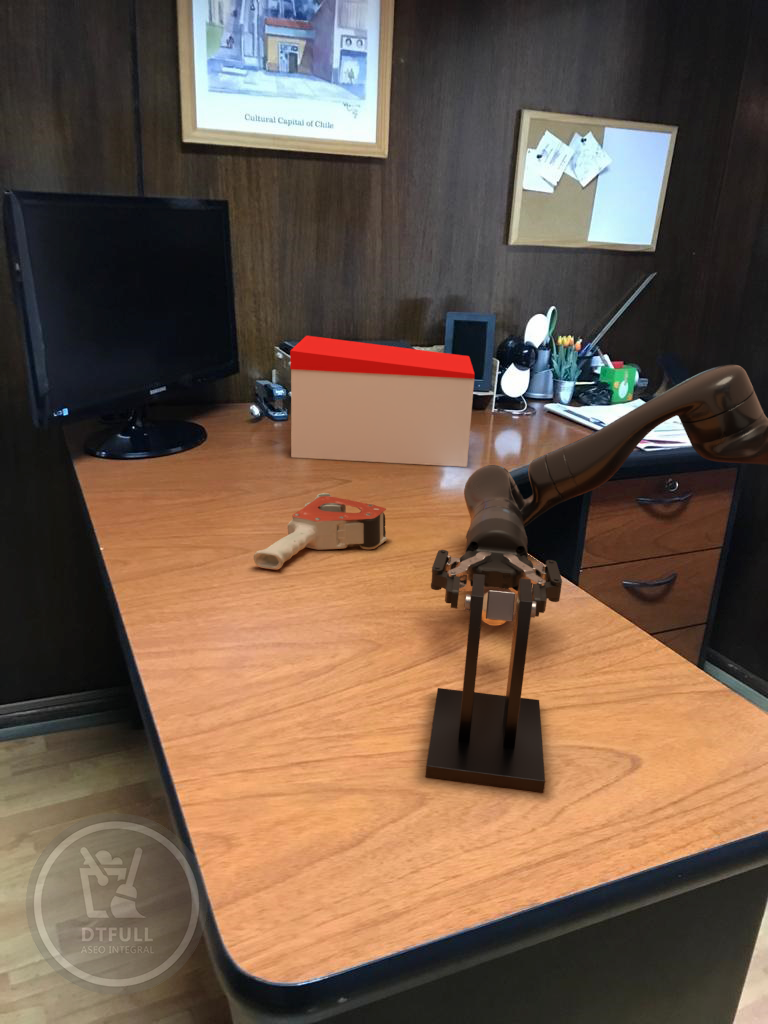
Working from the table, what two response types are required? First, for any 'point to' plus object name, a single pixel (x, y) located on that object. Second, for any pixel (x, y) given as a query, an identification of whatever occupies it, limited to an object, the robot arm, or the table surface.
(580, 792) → the table surface
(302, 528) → the tape dispenser
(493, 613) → the lever
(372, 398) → the red-topped tan box
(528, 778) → the bracket
